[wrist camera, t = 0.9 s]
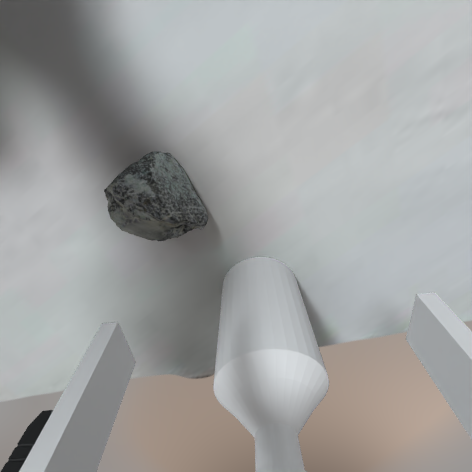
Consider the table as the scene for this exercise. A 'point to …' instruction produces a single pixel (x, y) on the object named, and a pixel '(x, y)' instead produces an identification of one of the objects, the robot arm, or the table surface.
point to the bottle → (268, 360)
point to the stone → (155, 199)
